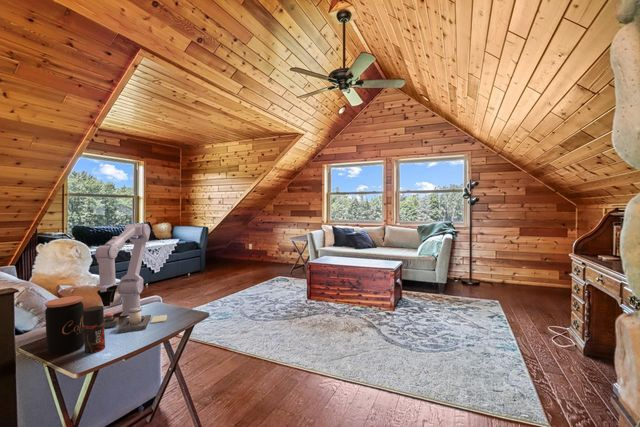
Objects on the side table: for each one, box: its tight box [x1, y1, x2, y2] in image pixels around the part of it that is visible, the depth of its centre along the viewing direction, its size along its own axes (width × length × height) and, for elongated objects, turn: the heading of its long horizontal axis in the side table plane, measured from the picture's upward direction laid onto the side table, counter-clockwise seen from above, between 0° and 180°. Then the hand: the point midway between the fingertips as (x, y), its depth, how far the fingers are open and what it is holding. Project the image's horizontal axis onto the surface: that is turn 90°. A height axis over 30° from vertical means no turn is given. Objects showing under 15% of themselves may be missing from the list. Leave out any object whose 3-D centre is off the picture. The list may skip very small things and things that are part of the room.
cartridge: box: [128, 306, 142, 325], centre depth 133 cm, size 5×5×7 cm
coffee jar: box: [44, 295, 85, 356], centre depth 112 cm, size 11×11×18 cm
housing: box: [117, 314, 152, 334], centre depth 134 cm, size 14×10×2 cm
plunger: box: [104, 312, 115, 322], centre depth 133 cm, size 3×3×3 cm
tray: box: [150, 314, 168, 324], centre depth 140 cm, size 8×6×1 cm
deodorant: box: [83, 305, 106, 354], centre depth 111 cm, size 6×6×15 cm
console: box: [104, 316, 120, 329], centre depth 133 cm, size 5×6×2 cm
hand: (108, 304), depth 133 cm, fingers open, 5 cm apart
